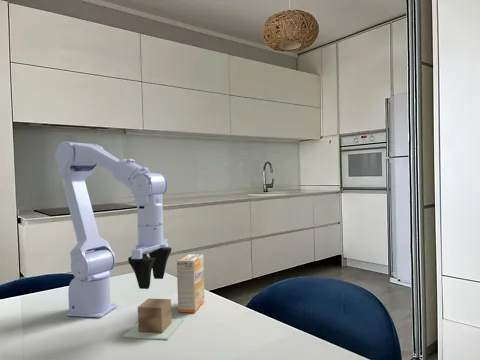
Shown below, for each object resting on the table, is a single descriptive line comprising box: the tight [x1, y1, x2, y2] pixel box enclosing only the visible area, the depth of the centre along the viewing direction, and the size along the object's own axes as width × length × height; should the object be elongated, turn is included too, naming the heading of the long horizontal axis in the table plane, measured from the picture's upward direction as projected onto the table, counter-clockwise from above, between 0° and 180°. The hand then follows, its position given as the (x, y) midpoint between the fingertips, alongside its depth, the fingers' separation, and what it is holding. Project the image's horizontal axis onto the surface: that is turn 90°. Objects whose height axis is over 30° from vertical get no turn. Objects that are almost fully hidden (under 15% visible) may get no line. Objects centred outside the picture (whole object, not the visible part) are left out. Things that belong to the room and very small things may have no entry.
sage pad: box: [123, 318, 185, 341], centre depth 80 cm, size 10×10×1 cm
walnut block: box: [137, 298, 173, 333], centre depth 80 cm, size 6×6×6 cm
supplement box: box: [176, 253, 205, 314], centre depth 93 cm, size 8×5×13 cm, turn 168°
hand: (151, 283), depth 83 cm, fingers open, 7 cm apart
